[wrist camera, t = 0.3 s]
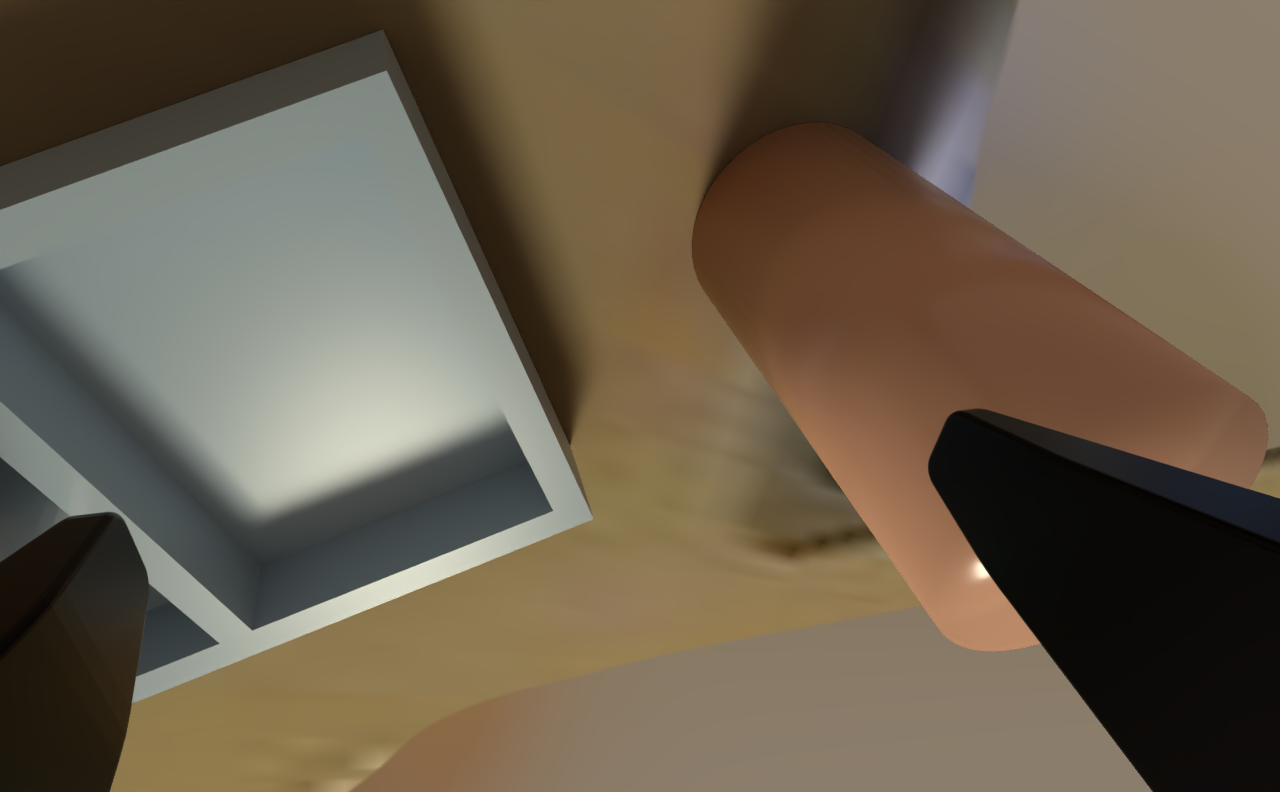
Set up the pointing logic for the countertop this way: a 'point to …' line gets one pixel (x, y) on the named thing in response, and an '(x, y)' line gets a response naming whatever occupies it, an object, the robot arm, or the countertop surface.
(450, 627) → the countertop surface
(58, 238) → the cup rack
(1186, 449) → the peach round cylinder
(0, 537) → the grey cylinder
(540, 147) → the countertop surface
